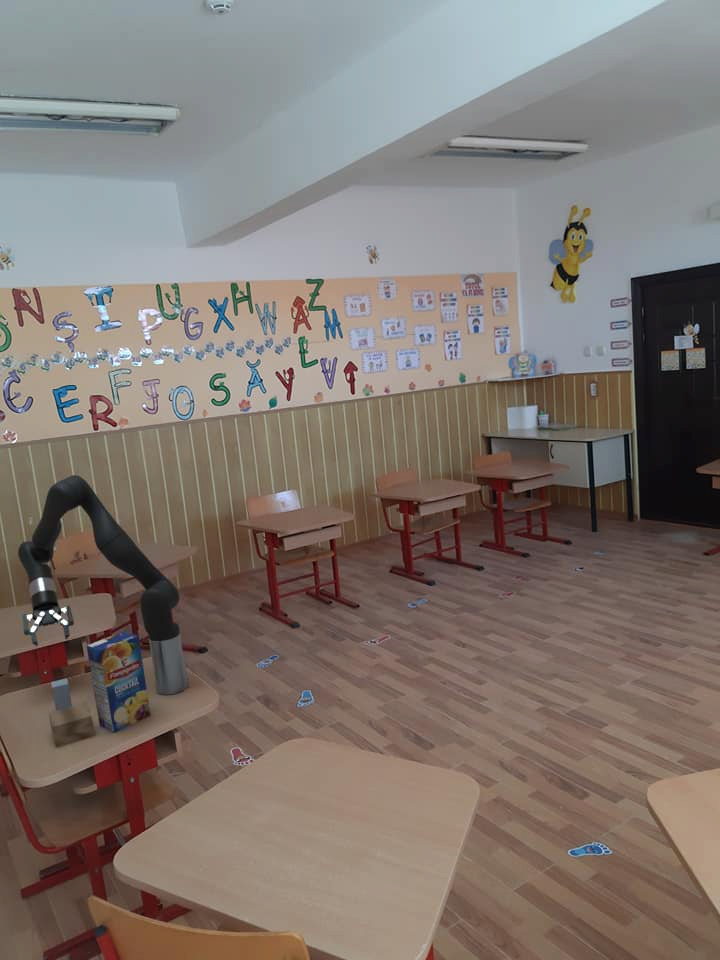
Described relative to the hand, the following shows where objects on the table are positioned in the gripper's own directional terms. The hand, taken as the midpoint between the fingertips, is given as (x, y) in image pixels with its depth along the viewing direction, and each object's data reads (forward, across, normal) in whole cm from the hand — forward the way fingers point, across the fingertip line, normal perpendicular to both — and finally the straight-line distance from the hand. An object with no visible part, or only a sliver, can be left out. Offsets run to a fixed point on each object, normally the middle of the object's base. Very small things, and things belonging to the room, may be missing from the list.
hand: (51, 641), depth 226 cm
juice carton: (+32, +15, -6) cm, 36 cm away
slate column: (+22, 0, +5) cm, 22 cm away
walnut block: (+32, +1, -5) cm, 32 cm away
